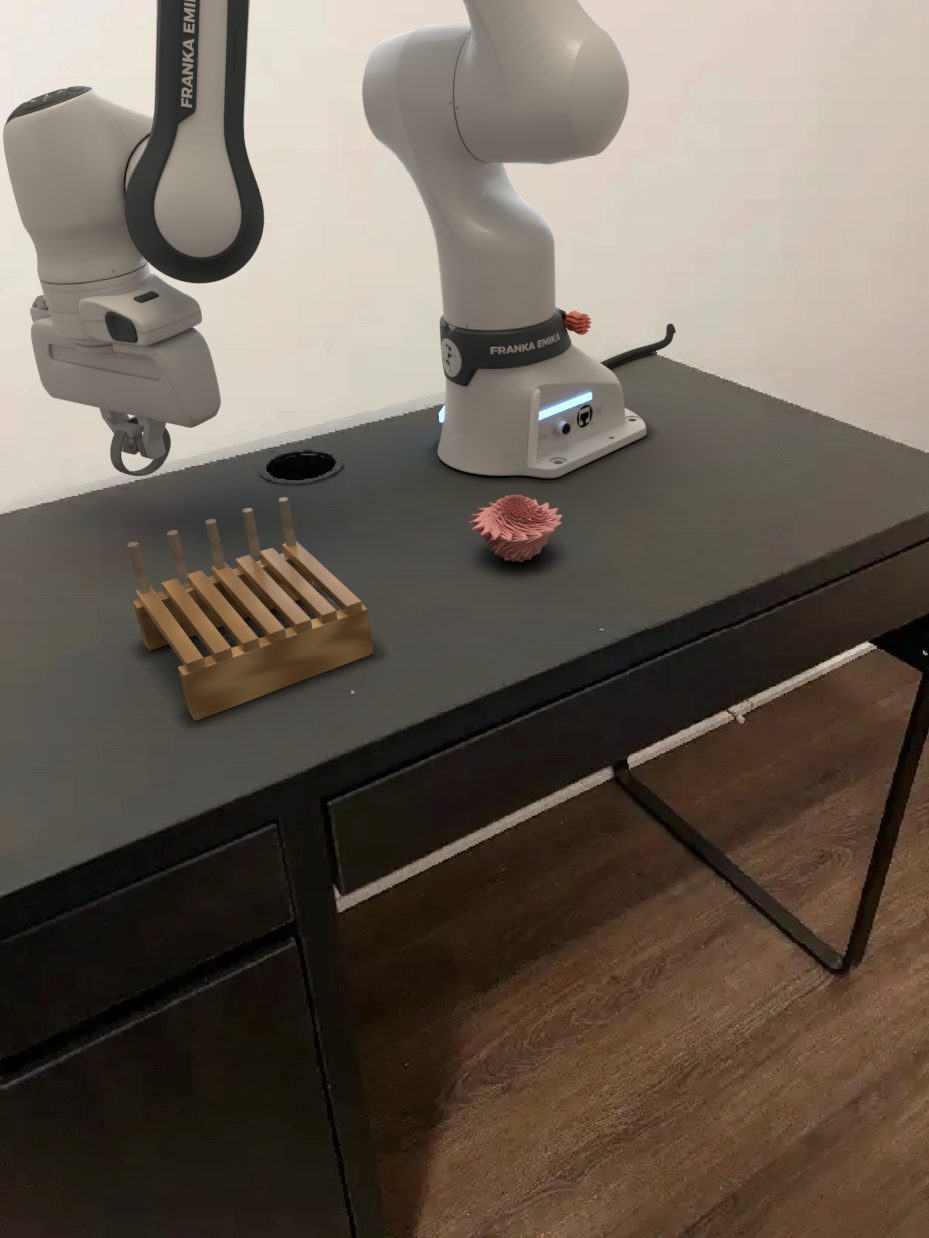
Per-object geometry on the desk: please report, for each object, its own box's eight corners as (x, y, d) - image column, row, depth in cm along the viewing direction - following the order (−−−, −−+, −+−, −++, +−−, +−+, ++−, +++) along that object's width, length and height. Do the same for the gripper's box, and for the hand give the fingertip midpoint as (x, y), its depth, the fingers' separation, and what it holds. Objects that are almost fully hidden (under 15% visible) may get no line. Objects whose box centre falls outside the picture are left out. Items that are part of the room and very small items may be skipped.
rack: (308, 589, 86) (292, 493, 81) (373, 654, 77) (360, 550, 73) (144, 644, 80) (117, 545, 76) (195, 721, 71) (167, 614, 67)
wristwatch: (132, 488, 93) (117, 437, 90) (112, 483, 94) (97, 432, 92) (182, 461, 97) (170, 412, 94) (162, 457, 99) (149, 407, 96)
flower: (454, 568, 87) (449, 509, 84) (496, 528, 93) (493, 471, 90) (539, 586, 84) (537, 525, 81) (577, 543, 90) (577, 485, 87)
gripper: (-3, 303, 90) (44, 448, 98) (156, 328, 80) (196, 488, 88) (55, 283, 95) (96, 424, 102) (214, 304, 84) (247, 459, 92)
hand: (144, 454), depth 95 cm, fingers closed on wristwatch
